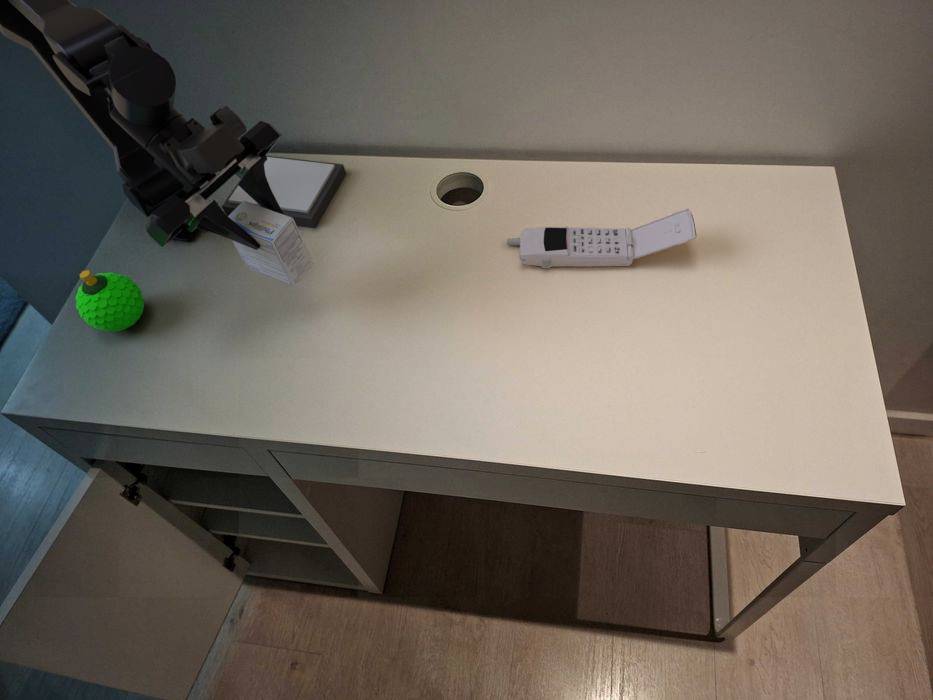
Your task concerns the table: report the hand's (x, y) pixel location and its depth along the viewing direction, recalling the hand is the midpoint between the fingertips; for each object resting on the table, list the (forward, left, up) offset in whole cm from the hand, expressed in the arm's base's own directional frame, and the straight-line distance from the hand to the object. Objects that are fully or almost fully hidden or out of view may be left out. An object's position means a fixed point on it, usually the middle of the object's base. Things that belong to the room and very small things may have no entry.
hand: (271, 235), depth 73 cm
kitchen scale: (-13, +21, -14) cm, 29 cm away
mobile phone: (+38, +17, -14) cm, 44 cm away
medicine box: (-2, 0, -7) cm, 7 cm away
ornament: (-25, -8, -14) cm, 30 cm away
